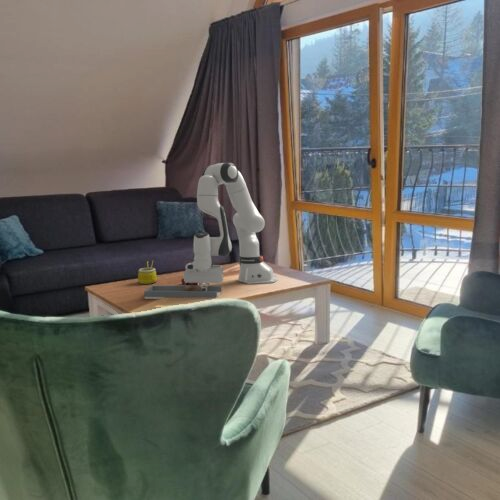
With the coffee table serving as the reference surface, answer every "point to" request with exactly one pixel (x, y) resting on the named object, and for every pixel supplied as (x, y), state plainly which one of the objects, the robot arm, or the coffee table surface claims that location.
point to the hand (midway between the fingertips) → (204, 291)
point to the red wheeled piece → (188, 283)
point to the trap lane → (179, 292)
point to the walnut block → (192, 288)
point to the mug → (147, 275)
